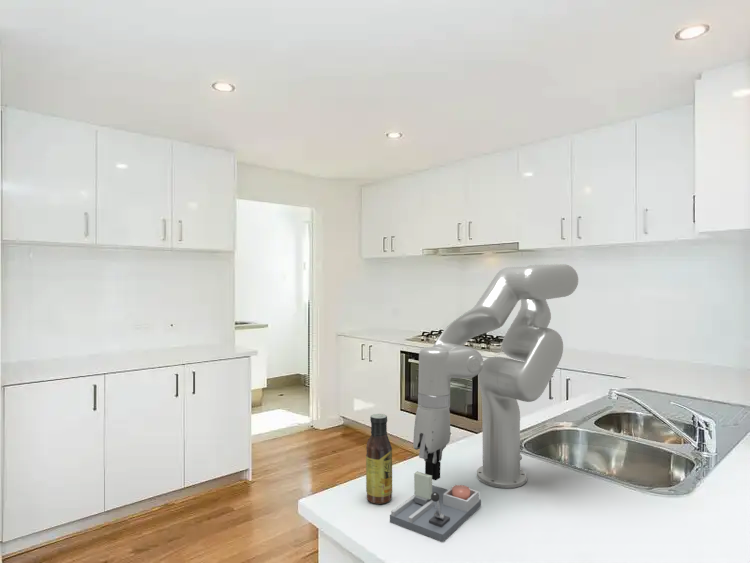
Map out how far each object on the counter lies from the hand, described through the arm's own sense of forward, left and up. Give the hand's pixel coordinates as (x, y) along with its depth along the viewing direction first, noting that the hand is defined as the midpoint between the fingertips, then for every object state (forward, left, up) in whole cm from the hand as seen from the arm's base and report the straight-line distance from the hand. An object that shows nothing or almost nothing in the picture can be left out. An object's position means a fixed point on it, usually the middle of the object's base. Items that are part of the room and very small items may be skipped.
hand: (432, 477), depth 111 cm
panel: (+5, +4, -6) cm, 8 cm away
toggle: (+10, +7, -3) cm, 13 cm away
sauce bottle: (+7, -11, -6) cm, 14 cm away
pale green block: (+5, 0, -4) cm, 6 cm away
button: (0, +7, -4) cm, 8 cm away
